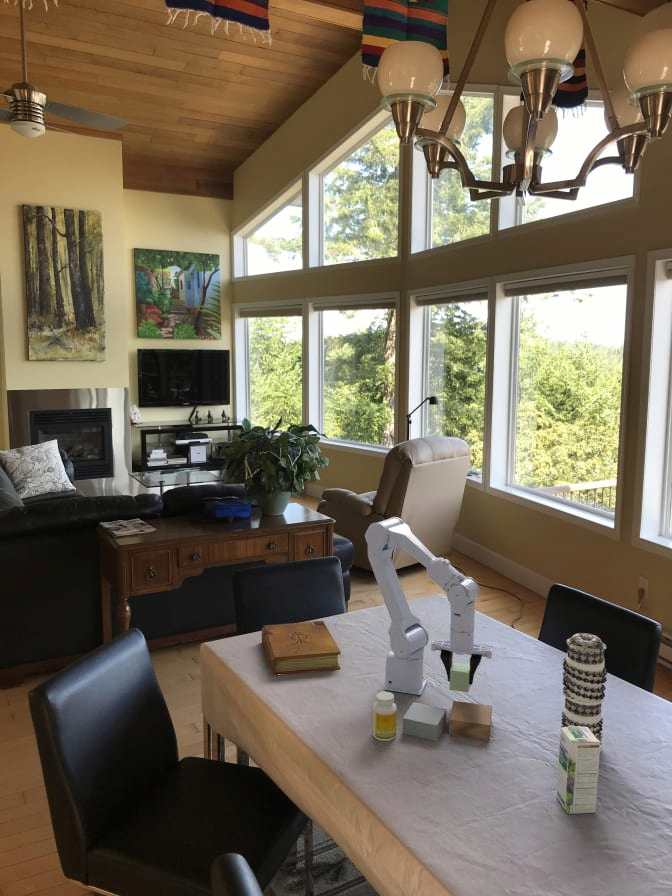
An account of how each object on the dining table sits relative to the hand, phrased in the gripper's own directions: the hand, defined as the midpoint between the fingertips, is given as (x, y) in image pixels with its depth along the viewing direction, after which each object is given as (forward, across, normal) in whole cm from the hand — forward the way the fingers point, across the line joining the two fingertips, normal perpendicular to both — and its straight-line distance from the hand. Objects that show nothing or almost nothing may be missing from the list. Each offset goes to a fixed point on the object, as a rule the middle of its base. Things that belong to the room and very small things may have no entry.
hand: (460, 681), depth 173 cm
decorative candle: (+6, +28, -10) cm, 30 cm away
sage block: (+1, 0, 0) cm, 1 cm away
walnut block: (+6, +4, -10) cm, 13 cm away
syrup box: (+6, +27, -32) cm, 42 cm away
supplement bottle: (+6, -14, -20) cm, 25 cm away
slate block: (+6, -6, -14) cm, 16 cm away
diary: (+7, -48, +14) cm, 50 cm away
